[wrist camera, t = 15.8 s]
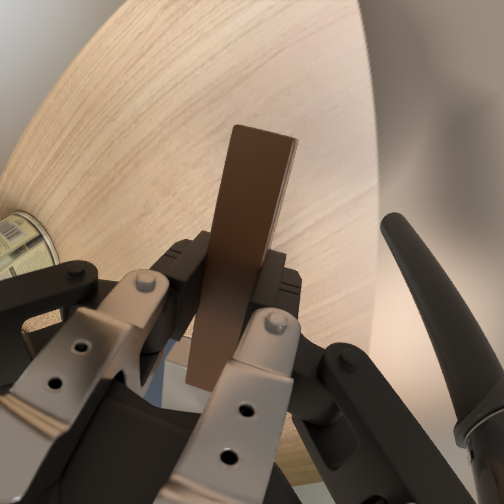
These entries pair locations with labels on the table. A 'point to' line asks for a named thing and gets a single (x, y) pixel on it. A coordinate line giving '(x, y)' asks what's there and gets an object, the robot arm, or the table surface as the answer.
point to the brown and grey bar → (230, 262)
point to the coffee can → (24, 246)
